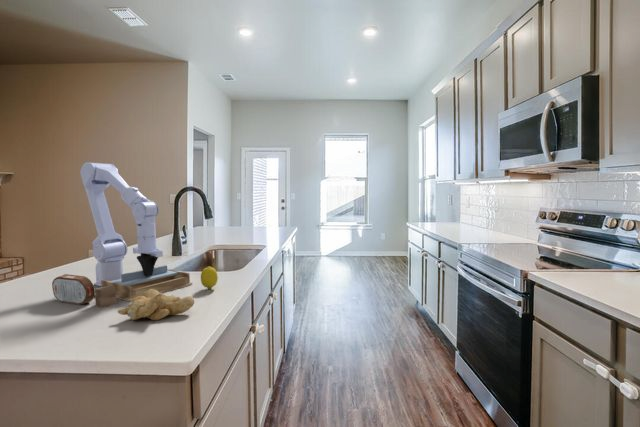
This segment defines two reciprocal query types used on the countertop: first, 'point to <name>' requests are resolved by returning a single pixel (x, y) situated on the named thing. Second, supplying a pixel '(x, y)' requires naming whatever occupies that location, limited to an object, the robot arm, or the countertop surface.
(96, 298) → the block
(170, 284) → the wooden tray
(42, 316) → the countertop surface
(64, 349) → the countertop surface
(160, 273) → the lid
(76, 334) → the countertop surface
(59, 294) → the tin
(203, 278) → the lemon
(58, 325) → the countertop surface
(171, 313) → the ginger root
